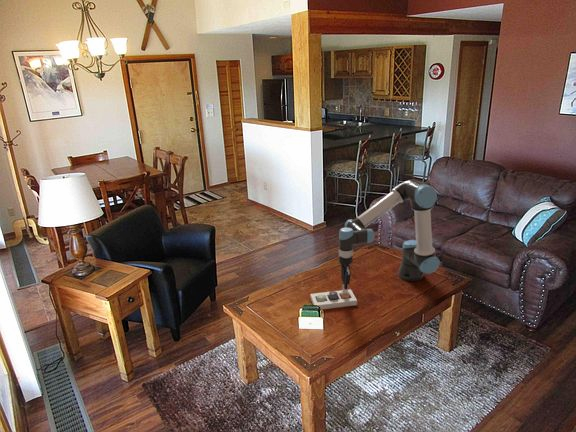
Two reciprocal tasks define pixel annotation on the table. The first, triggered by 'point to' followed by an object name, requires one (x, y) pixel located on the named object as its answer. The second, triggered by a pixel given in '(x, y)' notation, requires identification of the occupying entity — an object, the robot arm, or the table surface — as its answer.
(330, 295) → the button charcoal
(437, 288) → the table surface
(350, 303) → the board
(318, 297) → the button sage
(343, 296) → the button terracotta
